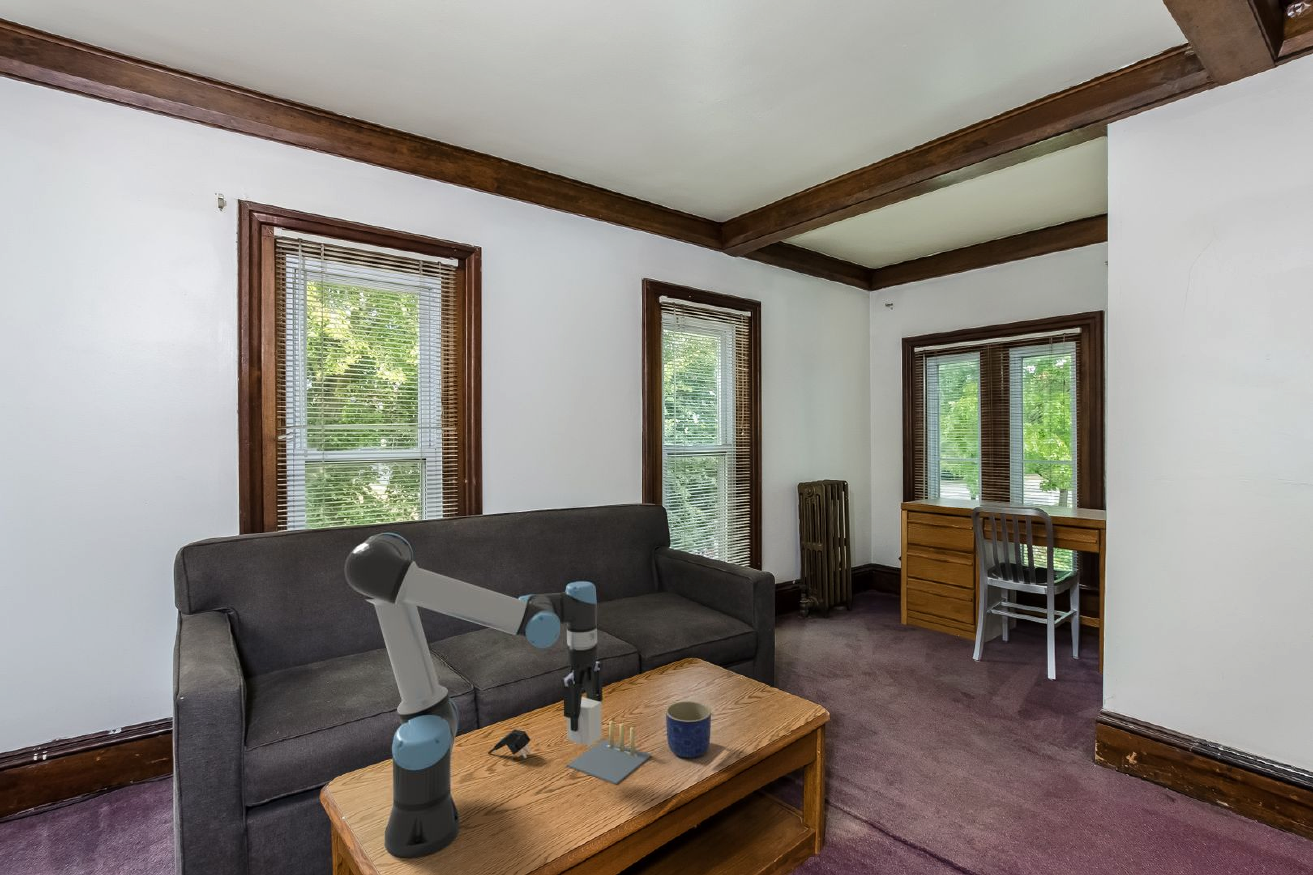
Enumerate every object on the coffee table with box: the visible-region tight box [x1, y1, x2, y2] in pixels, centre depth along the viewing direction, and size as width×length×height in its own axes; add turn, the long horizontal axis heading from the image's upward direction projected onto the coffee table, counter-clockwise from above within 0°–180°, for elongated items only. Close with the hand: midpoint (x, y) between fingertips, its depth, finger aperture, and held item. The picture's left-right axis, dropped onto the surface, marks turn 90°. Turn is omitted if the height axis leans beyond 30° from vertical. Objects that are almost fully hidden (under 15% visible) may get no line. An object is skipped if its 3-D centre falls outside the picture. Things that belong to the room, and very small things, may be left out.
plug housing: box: [566, 696, 603, 747], centre depth 154 cm, size 5×7×9 cm
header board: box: [566, 720, 652, 785], centre depth 163 cm, size 16×16×7 cm
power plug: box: [487, 728, 532, 759], centre depth 166 cm, size 6×8×12 cm
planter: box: [665, 700, 712, 759], centre depth 168 cm, size 12×12×11 cm
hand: (584, 737), depth 154 cm, fingers closed on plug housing, 5 cm apart
